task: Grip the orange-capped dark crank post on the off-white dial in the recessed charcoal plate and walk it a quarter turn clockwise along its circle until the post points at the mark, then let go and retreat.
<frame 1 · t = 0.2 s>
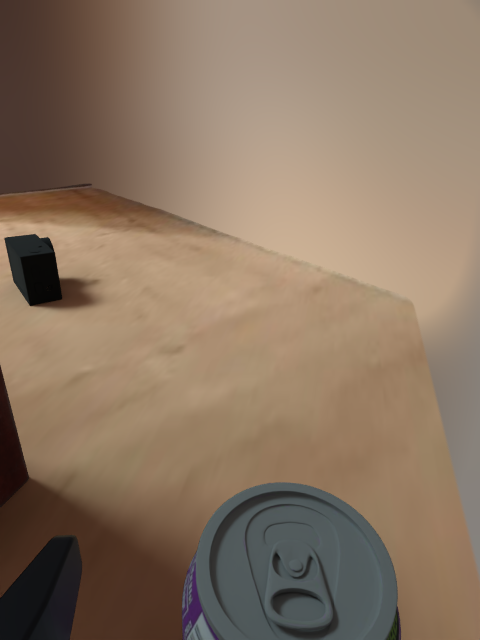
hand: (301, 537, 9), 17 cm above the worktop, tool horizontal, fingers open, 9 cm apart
digital camera: (41, 291, 62), on the worktop
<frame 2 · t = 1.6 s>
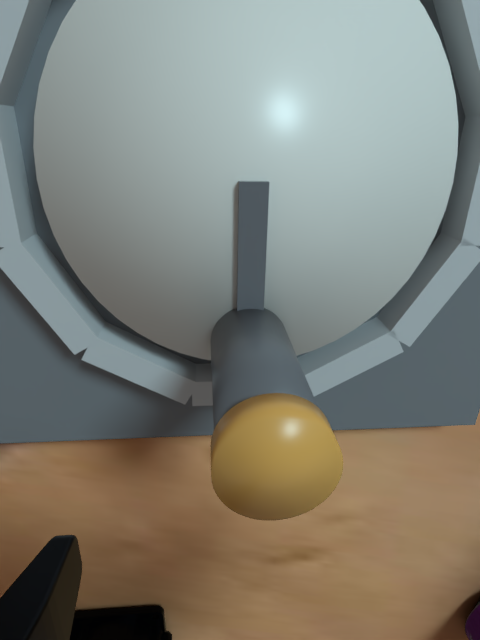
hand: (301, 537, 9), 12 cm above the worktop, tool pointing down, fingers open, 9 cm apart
dial plate: (244, 172, 17), on the worktop
dial knob: (263, 202, 12), point 6 cm above the worktop, hinge at 0.0°
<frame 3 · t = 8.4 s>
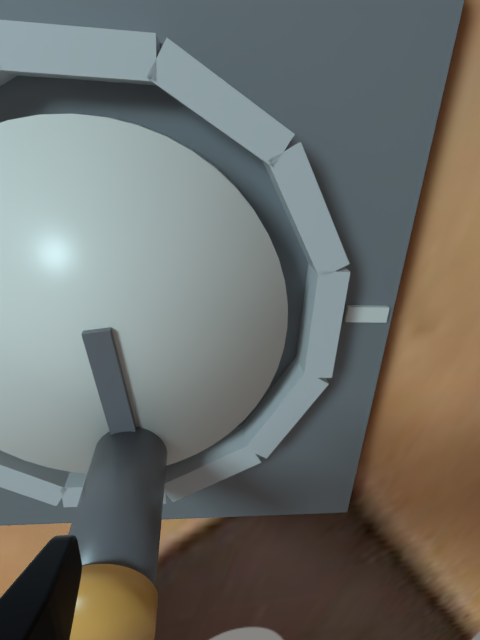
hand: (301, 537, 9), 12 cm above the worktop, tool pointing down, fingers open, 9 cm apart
dial plate: (113, 295, 18), on the worktop
dial knob: (80, 377, 13), point 6 cm above the worktop, hinge at -81.2°
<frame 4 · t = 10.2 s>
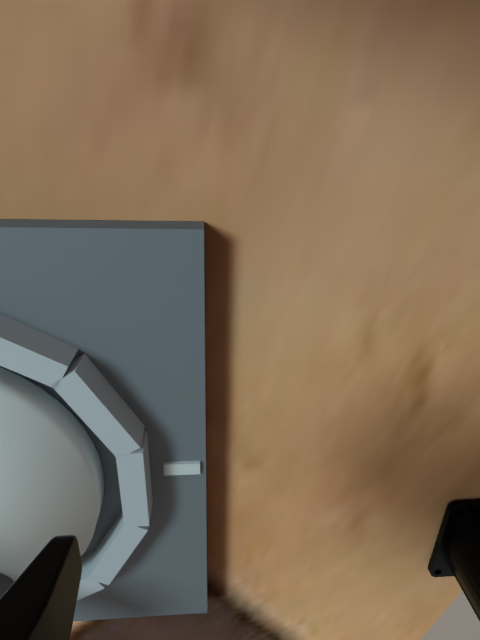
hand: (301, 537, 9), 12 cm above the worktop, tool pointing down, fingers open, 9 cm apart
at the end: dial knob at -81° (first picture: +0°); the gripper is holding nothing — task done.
